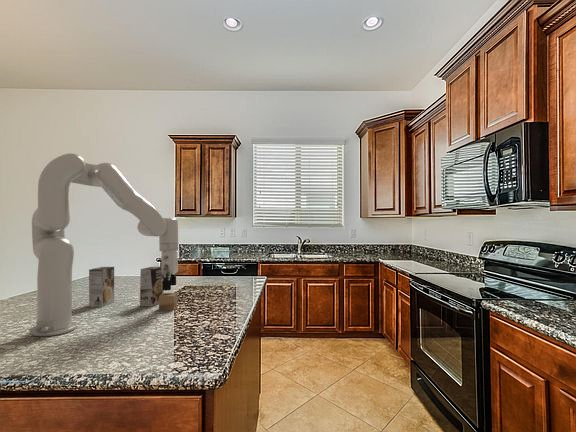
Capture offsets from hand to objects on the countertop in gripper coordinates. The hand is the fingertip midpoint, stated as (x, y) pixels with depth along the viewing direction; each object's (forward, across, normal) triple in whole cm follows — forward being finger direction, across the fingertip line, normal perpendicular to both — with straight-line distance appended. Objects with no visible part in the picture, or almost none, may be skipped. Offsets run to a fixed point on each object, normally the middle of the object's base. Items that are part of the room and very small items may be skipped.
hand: (169, 287), depth 141 cm
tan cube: (+9, 0, +1) cm, 9 cm away
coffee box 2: (+9, +8, +10) cm, 16 cm away
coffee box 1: (+8, +10, +32) cm, 34 cm away
